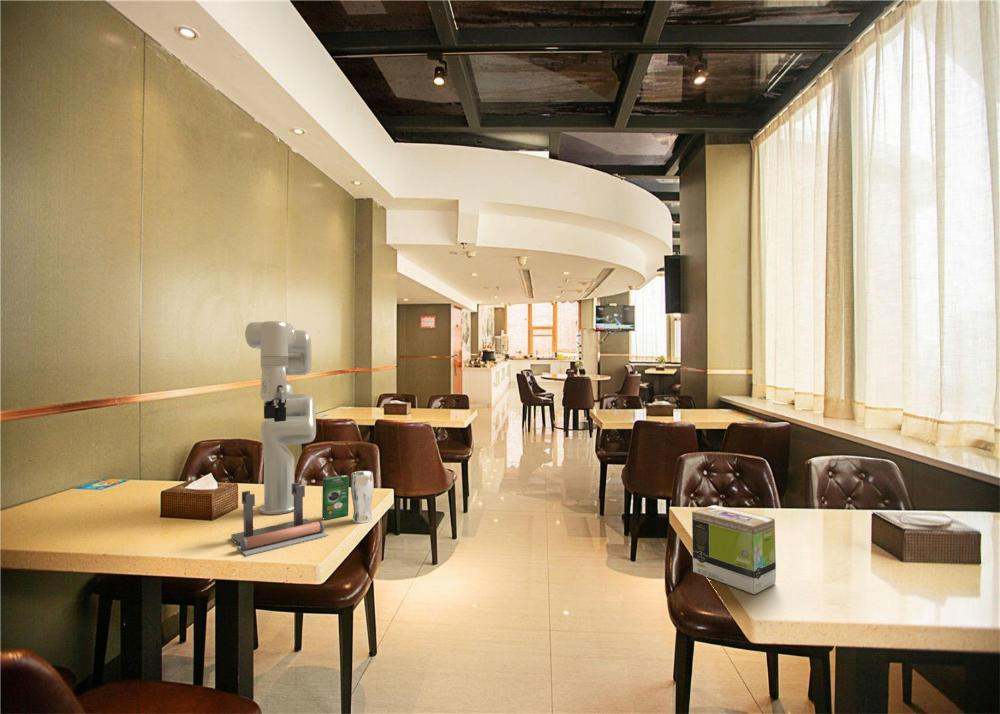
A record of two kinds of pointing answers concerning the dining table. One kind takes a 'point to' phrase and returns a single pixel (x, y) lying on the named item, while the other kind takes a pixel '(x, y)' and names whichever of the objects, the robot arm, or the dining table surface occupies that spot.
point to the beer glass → (362, 495)
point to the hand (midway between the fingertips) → (274, 419)
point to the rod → (281, 535)
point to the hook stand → (248, 504)
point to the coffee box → (335, 497)
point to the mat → (281, 544)
